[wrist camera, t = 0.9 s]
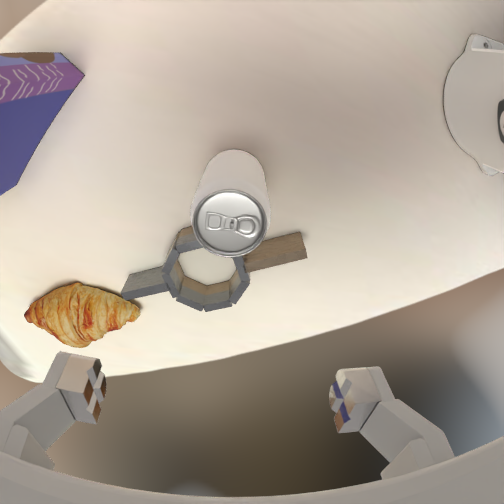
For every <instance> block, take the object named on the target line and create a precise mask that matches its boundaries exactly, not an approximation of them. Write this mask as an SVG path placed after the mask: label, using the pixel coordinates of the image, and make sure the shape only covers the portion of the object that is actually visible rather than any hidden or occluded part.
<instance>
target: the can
mask: <svg viewBox="0 0 504 504" xmlns="http://www.w3.org/2000/svg"><path fill="white" fill-rule="evenodd" d="M190 219H191V224H192V227H193V232H194V235H195V237H196V239H197V240H198V242H199V243H200V244H201V245H202V246H203V247H204V248H205V249H206V250H208V251H209V252H211V253H213V254H215V255H218V256H222V257H239V256H243V255H245V254H248V253H250V252H251V251H253V250H254V249H255V248H257V247H258V246H259V245H260V243H261V242H262V240H263V239H264V237H265V234H266V232H267V230H268V228H269V225H270V221H271V207H270V201H269V196H268V190H267V185H266V180H265V176H264V171H263V168H262V166H261V164H260V163H259V161H258V160H257V159H256V158H255V157H254V156H253V155H251V154H249V153H248V152H245V151H242V150H226V151H223V152H221V153H219V154H217V155H216V156H215V157H213V158H212V159H211V161H210V162H209V163H208V165H207V167H206V169H205V171H204V173H203V176H202V178H201V181H200V183H199V185H198V188H197V190H196V193H195V195H194V198H193V201H192V204H191V210H190Z"/></svg>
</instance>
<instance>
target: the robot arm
mask: <svg viewBox="0 0 504 504" xmlns="http://www.w3.org/2000/svg"><path fill="white" fill-rule="evenodd" d="M484 45H485V47H484ZM444 110H445V116H446V120H447V124H448V127H449V129H450V132H451V134H452V136H453V138H454V139H455V141H456V142H457V144H458V145H459V146H460V147H461V149H462V150H464V151H465V152H466V153H467V154H469V155H470V156H472V157H473V158H474V159H475V160H476V161H477V163H478V165H479V167H480V168H481V170H482V171H483V173H485V174H487V175H489V176H492V175H495V174H497V173H499V172H501V173H504V44H503V43H500V42H498V41H495V40H493V39H490V38H487V37H484V36H482V35H477V34H472V35H471V36H470V37H469V39H468V42H467V45H466V48H465V51H464V53H463V54H462V55H461V56H460V57H459V58H458V59H457V60H456V61H455V63H454V64H453V66H452V67H451V69H450V71H449V73H448V76H447V79H446V83H445V89H444ZM101 367H102V365H101V362H100V359H97V358H92V357H87V356H82V355H77V354H71V353H66V352H61V351H60V352H59V353H57V354H56V357H55V359H54V361H53V363H52V365H51V367H50V369H49V371H48V373H47V376H46V378H45V380H44V382H43V384H42V385H40V384H39V385H37V386H36V387H34V388H33V389H31V390H30V391H28V392H27V393H26V394H24V395H23V396H21V397H19V398H18V399H17V400H15V401H14V402H12V403H11V404H10V405H8V406H6V407H5V408H3V409H2V410H0V504H504V436H503V437H501V438H498V439H496V440H494V441H492V442H490V443H488V444H486V445H483V446H481V447H479V448H477V449H474V450H472V451H469V452H467V453H464V454H462V455H459V456H457V457H455V456H454V454H453V452H452V449H451V447H450V445H449V443H448V441H447V439H446V437H445V434H444V432H443V431H442V430H440V429H439V428H438V427H436V426H435V425H434V424H432V423H431V422H429V421H428V420H426V419H425V418H424V417H422V416H421V415H420V414H418V413H417V412H415V411H414V410H412V409H411V408H410V407H409V406H407V405H406V404H404V403H403V402H402V401H400V400H399V399H396V400H395V398H394V396H393V394H392V392H391V389H390V387H389V385H388V383H387V381H386V379H385V377H384V374H383V372H382V370H381V368H379V367H366V368H352V369H340V370H339V371H338V372H337V375H336V379H337V381H336V382H335V383H333V384H332V386H331V388H330V393H329V402H330V406H331V409H332V410H333V411H335V412H336V415H335V418H334V420H335V423H336V427H337V431H338V433H344V432H354V431H360V433H361V434H362V435H363V436H364V437H365V438H366V439H367V440H368V441H369V442H370V443H371V444H372V445H373V446H374V447H375V448H376V449H377V450H378V451H379V452H380V453H381V454H382V455H383V456H384V457H385V458H386V459H387V460H388V461H389V462H390V464H389V465H388V466H387V467H386V468H385V469H384V470H383V471H382V472H381V477H382V480H379V481H375V482H370V483H366V484H361V485H356V486H351V487H345V488H339V489H333V490H327V491H319V492H312V493H303V494H293V495H281V496H265V497H203V496H185V495H175V494H165V493H155V492H148V491H142V490H135V489H129V488H123V487H118V486H113V485H108V484H103V483H98V482H94V481H90V480H86V479H82V478H78V477H74V476H71V475H67V474H63V473H60V472H57V471H53V469H54V465H55V464H54V462H53V460H52V459H51V458H50V457H49V456H48V455H47V453H46V452H45V451H46V450H47V449H48V448H49V447H50V446H51V445H52V444H53V443H54V442H55V441H56V440H57V439H58V438H59V437H60V436H61V435H62V434H63V433H64V432H65V431H66V430H67V429H68V428H69V427H71V426H72V425H73V424H74V423H75V420H76V421H82V422H86V423H92V424H97V423H98V419H99V415H100V412H101V408H100V405H99V403H100V402H101V401H103V400H104V398H105V394H106V378H105V375H104V373H102V372H101V371H100V370H101Z"/></svg>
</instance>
